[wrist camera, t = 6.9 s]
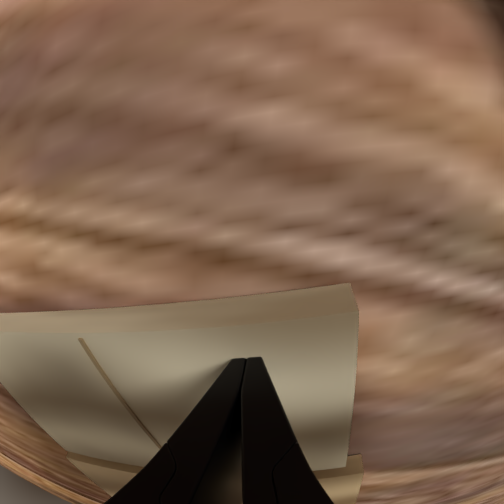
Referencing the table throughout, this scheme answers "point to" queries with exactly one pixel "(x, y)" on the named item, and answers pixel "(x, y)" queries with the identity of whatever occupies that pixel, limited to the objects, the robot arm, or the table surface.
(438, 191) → the table surface
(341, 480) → the laid board
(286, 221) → the table surface
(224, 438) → the robot arm
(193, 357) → the beige grooved panel
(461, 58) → the table surface
